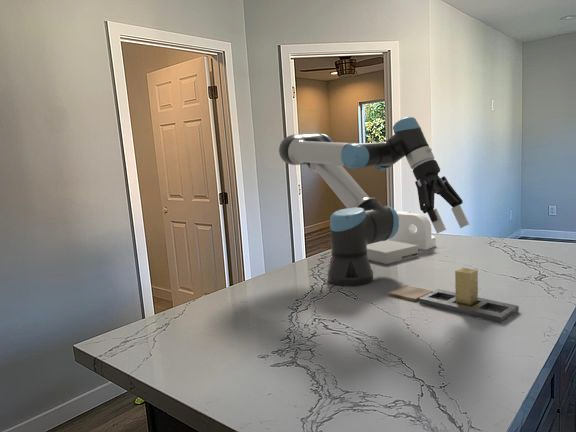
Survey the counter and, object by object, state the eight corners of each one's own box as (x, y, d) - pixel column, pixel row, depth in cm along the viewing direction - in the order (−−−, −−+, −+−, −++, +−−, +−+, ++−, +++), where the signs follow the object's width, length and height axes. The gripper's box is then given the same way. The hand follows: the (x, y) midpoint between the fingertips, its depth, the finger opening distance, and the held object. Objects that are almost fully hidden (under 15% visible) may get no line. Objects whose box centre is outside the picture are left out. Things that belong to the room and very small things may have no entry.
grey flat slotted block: (419, 303, 121) (419, 298, 120) (438, 294, 127) (438, 289, 127) (501, 323, 104) (501, 317, 104) (518, 311, 110) (518, 305, 110)
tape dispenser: (425, 249, 181) (425, 215, 179) (389, 245, 195) (388, 213, 193) (440, 244, 189) (439, 211, 187) (403, 240, 203) (403, 209, 201)
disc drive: (378, 248, 191) (378, 237, 191) (418, 256, 172) (418, 244, 172) (347, 255, 182) (346, 243, 182) (385, 265, 163) (385, 252, 163)
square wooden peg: (455, 307, 116) (455, 271, 114) (463, 303, 118) (462, 267, 117) (470, 311, 113) (470, 273, 111) (477, 307, 115) (477, 270, 114)
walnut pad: (388, 295, 129) (388, 292, 129) (406, 287, 135) (406, 285, 134) (415, 301, 122) (415, 299, 122) (433, 293, 128) (433, 290, 128)
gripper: (409, 159, 123) (442, 228, 117) (454, 158, 139) (484, 219, 134) (390, 171, 128) (420, 239, 123) (435, 169, 144) (463, 228, 139)
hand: (453, 228), depth 128 cm, fingers open, 13 cm apart
